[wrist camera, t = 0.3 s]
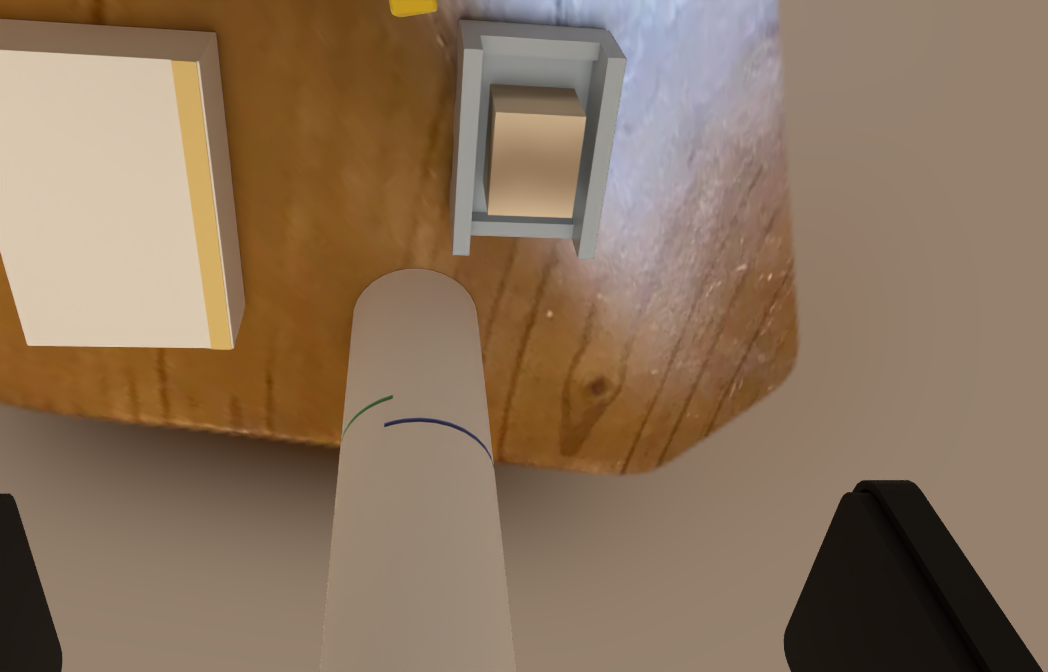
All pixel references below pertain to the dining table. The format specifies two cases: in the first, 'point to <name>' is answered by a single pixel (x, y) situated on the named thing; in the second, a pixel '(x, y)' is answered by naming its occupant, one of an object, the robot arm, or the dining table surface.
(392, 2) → the candy box
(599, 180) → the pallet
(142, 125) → the dock
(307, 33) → the dining table surface
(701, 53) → the dining table surface
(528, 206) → the tan block
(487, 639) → the cylindrical container
